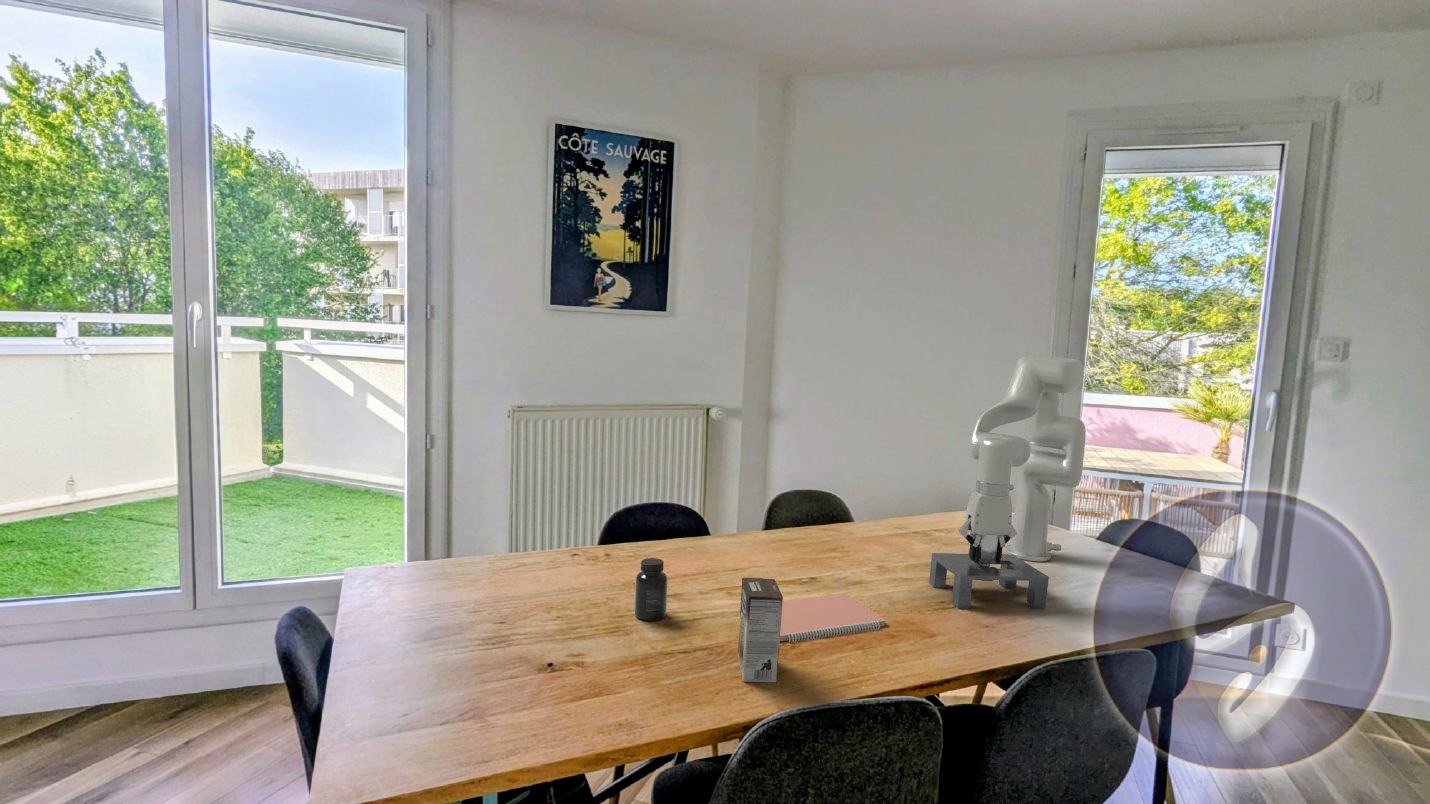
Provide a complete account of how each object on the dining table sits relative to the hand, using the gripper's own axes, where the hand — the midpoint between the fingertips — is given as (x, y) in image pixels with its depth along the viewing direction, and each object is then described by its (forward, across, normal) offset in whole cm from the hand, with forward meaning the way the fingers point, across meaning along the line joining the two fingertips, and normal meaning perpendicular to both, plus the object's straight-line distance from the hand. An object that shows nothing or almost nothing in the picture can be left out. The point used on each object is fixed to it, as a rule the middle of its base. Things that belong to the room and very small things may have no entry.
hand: (984, 560), depth 173 cm
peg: (+4, 0, 0) cm, 4 cm away
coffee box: (+9, +63, +37) cm, 74 cm away
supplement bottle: (+9, +82, +13) cm, 84 cm away
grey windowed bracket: (+9, -1, 0) cm, 9 cm away
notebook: (+10, +46, +15) cm, 49 cm away
